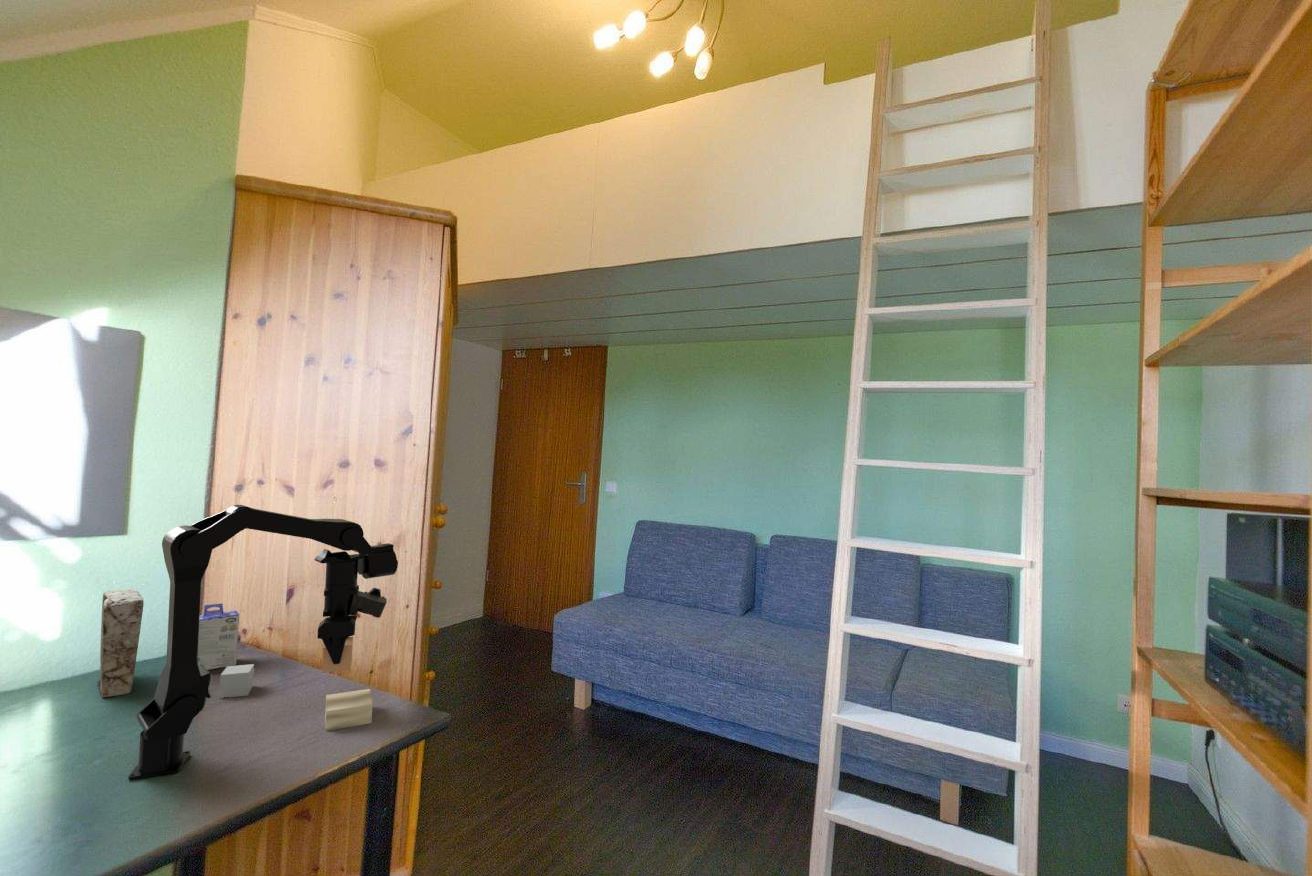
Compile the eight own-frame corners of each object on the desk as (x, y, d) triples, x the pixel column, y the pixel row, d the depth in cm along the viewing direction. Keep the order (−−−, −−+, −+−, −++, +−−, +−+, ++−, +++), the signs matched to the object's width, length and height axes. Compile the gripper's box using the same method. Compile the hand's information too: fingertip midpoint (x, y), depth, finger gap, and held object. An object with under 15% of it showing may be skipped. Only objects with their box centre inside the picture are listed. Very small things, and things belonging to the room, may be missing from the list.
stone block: (143, 691, 124) (149, 597, 124) (98, 701, 118) (105, 603, 119) (129, 674, 132) (135, 586, 133) (86, 683, 127) (93, 591, 127)
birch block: (371, 724, 115) (372, 704, 115) (325, 732, 111) (326, 711, 111) (368, 708, 122) (369, 688, 122) (325, 714, 118) (326, 695, 118)
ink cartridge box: (234, 658, 144) (238, 600, 144) (237, 665, 140) (241, 605, 140) (183, 667, 137) (187, 606, 138) (185, 675, 133) (189, 611, 134)
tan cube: (350, 669, 116) (351, 644, 116) (321, 673, 114) (323, 647, 114) (351, 661, 121) (353, 637, 121) (324, 663, 119) (325, 639, 119)
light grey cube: (247, 695, 124) (248, 672, 125) (219, 698, 122) (220, 675, 123) (252, 686, 129) (254, 664, 129) (225, 689, 127) (227, 666, 127)
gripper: (385, 590, 113) (381, 671, 113) (385, 570, 130) (381, 640, 130) (319, 594, 108) (315, 678, 108) (328, 573, 125) (324, 645, 125)
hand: (337, 659), depth 118 cm, fingers closed on tan cube, 5 cm apart
